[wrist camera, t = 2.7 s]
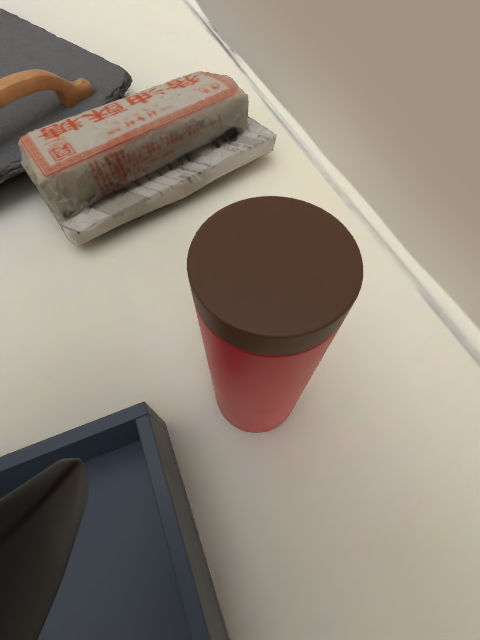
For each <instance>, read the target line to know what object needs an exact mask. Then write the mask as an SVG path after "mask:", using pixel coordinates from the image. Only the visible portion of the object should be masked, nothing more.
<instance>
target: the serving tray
mask: <svg viewBox="0 0 480 640" xmlns="http://www.w3.org/2000/svg"><path fill="white" fill-rule="evenodd" d="M131 83H132V78H131V76H130V75H129V73H128V72H126V71H125V70H124V69H123V68H121V67H120V66H118V65H116V64H113V63H111V62H109V61H107V60H105V59H104V58H102V57H100V56H98V55H96V54H93V53H91V52H89V51H87V50H85V49H83V48H81V47H79V46H77V45H75V44H73V43H71V42H69V41H67V40H64V39H62V38H59V37H56V36H55V35H54V34H51V33H49V32H48V31H46V30H45V29H43V28H41V27H38V26H36V25H33V24H31V23H30V22H28V21H26V20H24V19H21V18H19V17H18V16H17V15H14V14H11V13H9V12H7V11H5V10H3V9H0V183H2V182H4V181H6V180H7V179H9V178H12V177H14V176H16V175H18V174H21V173H23V172H26V170H25V169H24V167H23V166H22V164H21V163H20V162H21V160H22V157H21V155H22V154H21V150H20V148H19V145H18V143H19V140H20V137H22V136H24V135H26V134H28V133H29V132H32V131H34V130H36V129H40V128H42V127H45V126H47V125H50V124H53V123H56V122H59V121H61V120H63V119H66V118H69V117H72V116H76V115H79V114H80V113H83V112H85V111H89V110H91V109H94V108H97V107H100V106H103V105H105V104H108V103H111V102H114V101H116V100H119V99H123V98H125V96H124V93H125V92H126V91H127V90H128V88H129V87H130V85H131Z"/></svg>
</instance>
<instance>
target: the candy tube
mask: <svg viewBox="0 0 480 640" xmlns="http://www.w3.org/2000/svg"><path fill="white" fill-rule="evenodd" d="M187 272H188V278H189V283H190V287H191V291H192V296H193V300H194V304H195V308H196V313H197V317H198V321H199V326H200V330H201V334H202V339H203V343H204V347H205V351H206V356H207V360H208V364H209V369H210V373H211V377H212V381H213V386H214V390H215V394H216V399H217V403H218V406H219V408H220V411H221V412H222V414H223V416H224V417H225V418H226V419H227V420H228V421H229V422H230V423H231V424H232V425H234V426H235V427H237V428H239V429H241V430H244V431H248V432H256V433H257V432H265V431H269V430H272V429H274V428H276V427H277V426H279V425H280V424H281V423H282V422H284V421H285V420H286V418H287V417H288V416H289V414H290V412H291V411H292V409H293V407H294V405H295V404H296V402H297V400H298V399H299V397H300V395H301V393H302V392H303V390H304V388H305V386H306V385H307V383H308V381H309V380H310V378H311V376H312V374H313V373H314V371H315V369H316V367H317V366H318V364H319V362H320V361H321V359H322V357H323V355H324V354H325V352H326V350H327V348H328V347H329V345H330V343H331V342H332V340H333V338H334V336H335V335H336V333H337V331H338V329H339V328H340V326H341V324H342V323H343V321H344V319H345V317H346V316H347V314H348V312H349V310H350V309H351V307H352V305H353V304H354V302H355V300H356V298H357V296H358V294H359V291H360V289H361V285H362V280H363V263H362V257H361V254H360V250H359V248H358V246H357V243H356V241H355V240H354V238H353V236H352V235H351V233H350V232H349V231H348V230H347V228H346V227H345V226H344V225H343V224H342V223H341V222H340V221H339V220H338V219H336V218H335V217H334V216H332V215H331V214H330V213H328V212H326V211H325V210H323V209H321V208H319V207H317V206H315V205H313V204H310V203H308V202H305V201H302V200H298V199H293V198H288V197H279V196H263V197H255V198H249V199H245V200H241V201H238V202H235V203H232V204H230V205H228V206H226V207H224V208H222V209H221V210H219V211H217V212H216V213H215V214H213V215H212V216H211V217H210V218H208V219H207V220H206V221H205V222H204V223H203V224H202V226H201V227H200V228H199V230H198V231H197V232H196V234H195V236H194V238H193V240H192V242H191V245H190V248H189V252H188V257H187Z"/></svg>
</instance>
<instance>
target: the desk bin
mask: <svg viewBox="0 0 480 640" xmlns="http://www.w3.org/2000/svg"><path fill="white" fill-rule="evenodd" d="M70 458H79V459H81V460H82V461H83V464H84V468H85V473H86V478H87V484H88V489H89V496H88V501H87V505H86V508H85V511H84V514H83V517H82V520H81V524H80V527H79V530H78V533H77V536H76V539H75V543H74V546H73V549H72V552H71V555H70V558H69V561H68V565H67V568H66V571H65V574H64V577H63V579H62V582H61V585H60V587H59V590H58V592H57V595H56V597H55V600H54V602H53V604H52V607H51V609H50V612H49V614H48V616H47V619H46V621H45V623H44V626H43V628H42V631H41V633H40V635H39V638H38V640H229V637H228V634H227V630H226V627H225V624H224V620H223V617H222V613H221V610H220V607H219V603H218V600H217V597H216V593H215V590H214V586H213V583H212V580H211V576H210V573H209V570H208V566H207V563H206V559H205V556H204V553H203V549H202V546H201V542H200V539H199V536H198V532H197V529H196V526H195V522H194V519H193V515H192V512H191V509H190V505H189V502H188V499H187V495H186V492H185V488H184V485H183V482H182V478H181V475H180V472H179V468H178V465H177V461H176V458H175V455H174V451H173V448H172V445H171V441H170V438H169V434H168V431H167V428H166V424H165V422H164V421H163V420H162V419H161V418H160V417H159V416H158V415H157V414H156V413H155V412H154V411H153V410H152V409H151V408H150V407H149V406H148V405H147V404H146V403H145V402H142V403H139V404H137V405H134V406H131V407H129V408H126V409H124V410H121V411H118V412H116V413H113V414H111V415H108V416H105V417H103V418H100V419H98V420H95V421H93V422H90V423H87V424H85V425H82V426H80V427H77V428H74V429H72V430H69V431H67V432H64V433H61V434H59V435H56V436H54V437H51V438H48V439H46V440H43V441H41V442H38V443H35V444H33V445H30V446H28V447H25V448H22V449H20V450H17V451H15V452H12V453H9V454H7V455H4V456H2V457H0V499H2V498H3V497H5V496H6V495H8V494H9V493H11V492H12V491H14V490H15V489H17V488H18V487H20V486H21V485H23V484H24V483H26V482H27V481H29V480H30V479H31V478H33V477H34V476H36V475H37V474H39V473H40V472H42V471H43V470H45V469H46V468H48V467H49V466H51V465H52V464H54V463H55V462H57V461H58V460H61V459H70Z"/></svg>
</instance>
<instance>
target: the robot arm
mask: <svg viewBox="0 0 480 640" xmlns="http://www.w3.org/2000/svg"><path fill="white" fill-rule="evenodd" d="M88 496H89V489H88V484H87V478H86V473H85V468H84V464H83V461H82V460H81V459H79V458H70V459H61V460H58V461H57V462H55V463H54V464H52V465H51V466H49V467H48V468H46V469H45V470H43V471H42V472H40V473H39V474H37V475H36V476H34V477H33V478H31V479H30V480H29V481H27V482H26V483H24V484H23V485H21V486H20V487H18V488H17V489H15V490H14V491H12V492H11V493H9V494H8V495H6V496H5V497H3V498H2V499H0V640H38V638H39V635H40V633H41V631H42V628H43V626H44V623H45V621H46V619H47V616H48V614H49V612H50V609H51V607H52V604H53V602H54V600H55V597H56V595H57V592H58V590H59V587H60V585H61V582H62V579H63V577H64V574H65V571H66V568H67V565H68V561H69V558H70V555H71V552H72V549H73V546H74V543H75V539H76V536H77V533H78V530H79V527H80V524H81V520H82V517H83V514H84V511H85V508H86V505H87V501H88Z"/></svg>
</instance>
